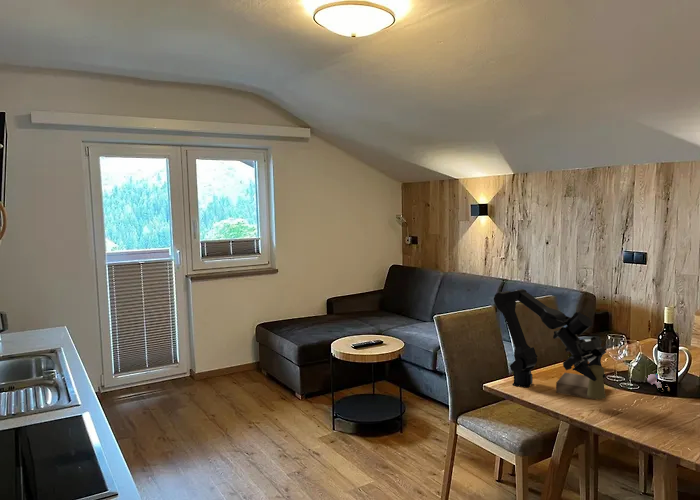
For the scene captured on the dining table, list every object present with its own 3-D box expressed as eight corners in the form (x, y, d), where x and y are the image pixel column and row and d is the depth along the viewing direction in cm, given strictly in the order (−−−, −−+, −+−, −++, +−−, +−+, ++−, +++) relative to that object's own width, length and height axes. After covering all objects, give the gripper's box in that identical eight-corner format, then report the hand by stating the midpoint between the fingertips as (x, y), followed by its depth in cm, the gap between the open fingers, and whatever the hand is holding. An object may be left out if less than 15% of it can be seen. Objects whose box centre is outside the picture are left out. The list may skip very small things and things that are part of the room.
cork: (607, 399, 181) (608, 368, 180) (589, 398, 182) (589, 368, 181) (603, 393, 187) (603, 363, 186) (585, 392, 188) (585, 363, 187)
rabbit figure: (673, 394, 198) (652, 375, 212) (675, 380, 196) (653, 362, 211) (657, 395, 198) (636, 376, 213) (658, 381, 197) (638, 363, 211)
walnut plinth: (556, 392, 201) (556, 382, 201) (564, 381, 213) (564, 372, 212) (595, 399, 193) (595, 388, 193) (602, 387, 204) (602, 377, 204)
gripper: (570, 334, 180) (600, 373, 172) (601, 325, 190) (630, 362, 182) (551, 351, 188) (578, 389, 180) (581, 341, 198) (609, 377, 190)
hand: (600, 378), depth 183 cm, fingers closed on cork, 5 cm apart
